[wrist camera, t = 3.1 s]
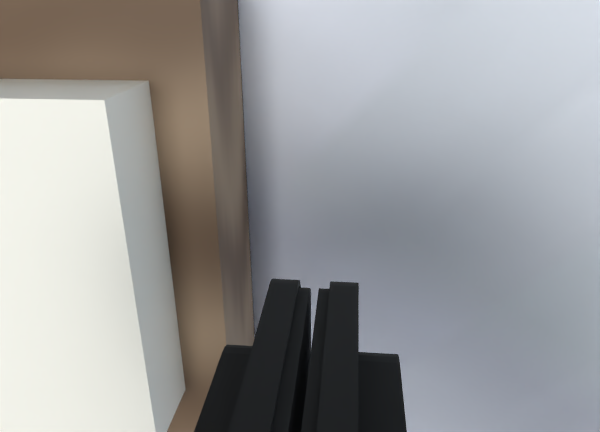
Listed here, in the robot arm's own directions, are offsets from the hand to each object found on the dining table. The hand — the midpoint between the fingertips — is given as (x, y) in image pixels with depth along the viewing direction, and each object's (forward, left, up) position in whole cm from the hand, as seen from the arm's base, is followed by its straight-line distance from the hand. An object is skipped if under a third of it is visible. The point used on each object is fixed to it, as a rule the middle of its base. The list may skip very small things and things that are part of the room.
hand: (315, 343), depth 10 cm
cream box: (-1, +8, -5) cm, 9 cm away
